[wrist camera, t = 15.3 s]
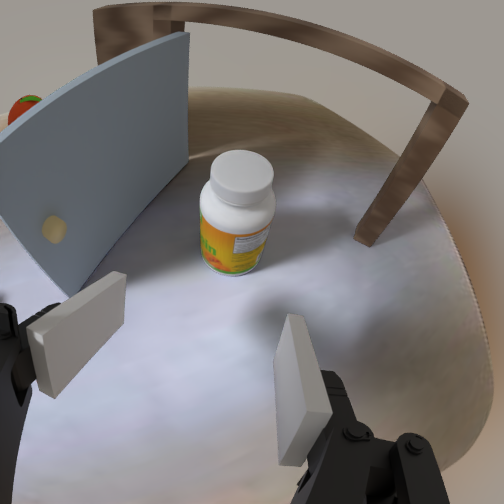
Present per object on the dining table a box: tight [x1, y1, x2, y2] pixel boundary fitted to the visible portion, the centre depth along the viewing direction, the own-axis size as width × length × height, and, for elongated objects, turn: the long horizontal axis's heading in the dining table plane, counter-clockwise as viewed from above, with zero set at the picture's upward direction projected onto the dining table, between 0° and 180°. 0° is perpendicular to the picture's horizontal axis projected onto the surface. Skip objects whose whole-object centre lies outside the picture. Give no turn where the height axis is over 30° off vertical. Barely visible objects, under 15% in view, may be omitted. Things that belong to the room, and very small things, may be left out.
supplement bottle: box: [200, 150, 276, 276], centre depth 22 cm, size 5×5×10 cm
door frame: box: [93, 2, 469, 247], centre depth 23 cm, size 34×2×18 cm, turn 65°
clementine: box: [8, 95, 42, 126], centre depth 29 cm, size 8×7×7 cm
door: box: [0, 31, 190, 298], centre depth 19 cm, size 19×3×15 cm, turn 155°
